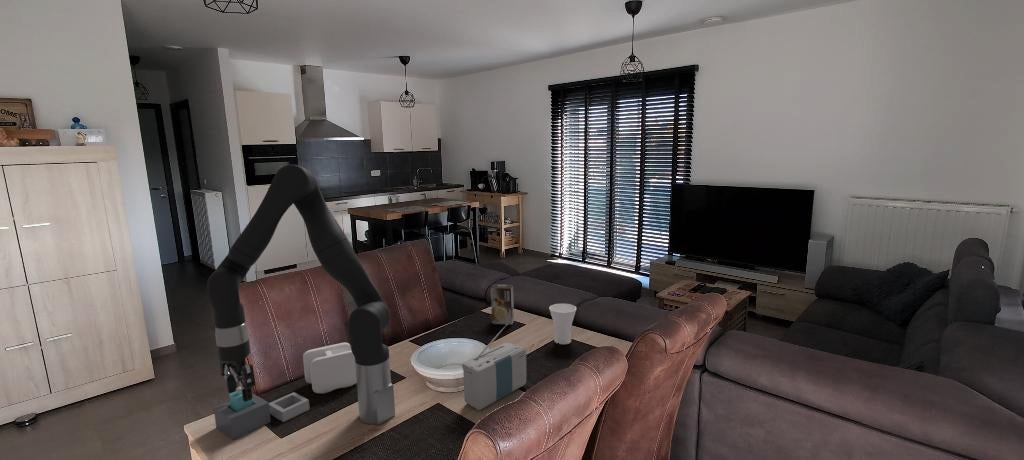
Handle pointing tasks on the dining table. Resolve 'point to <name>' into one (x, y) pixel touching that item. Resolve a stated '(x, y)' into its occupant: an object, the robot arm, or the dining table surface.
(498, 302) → the coffee box
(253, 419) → the port
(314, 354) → the cable organizer
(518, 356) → the stereo radio cassette player
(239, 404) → the plug
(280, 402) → the grey square hollow frame
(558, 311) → the cup
